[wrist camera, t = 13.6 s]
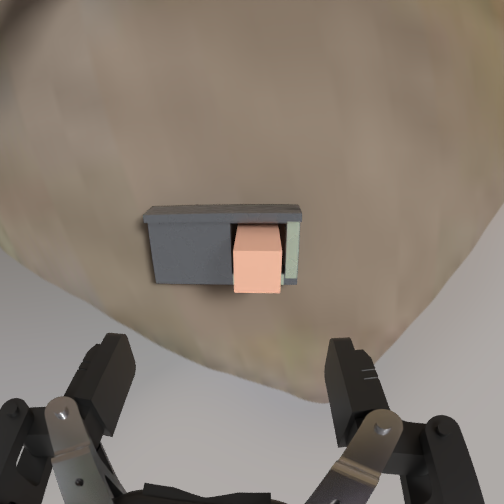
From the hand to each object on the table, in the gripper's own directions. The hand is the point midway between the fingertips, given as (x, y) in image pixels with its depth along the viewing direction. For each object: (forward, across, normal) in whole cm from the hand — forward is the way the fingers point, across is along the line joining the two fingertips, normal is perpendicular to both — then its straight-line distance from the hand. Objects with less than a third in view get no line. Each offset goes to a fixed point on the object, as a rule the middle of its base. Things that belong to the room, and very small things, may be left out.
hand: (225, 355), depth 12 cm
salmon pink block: (+22, -1, +5) cm, 22 cm away
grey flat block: (+22, +3, +5) cm, 22 cm away
